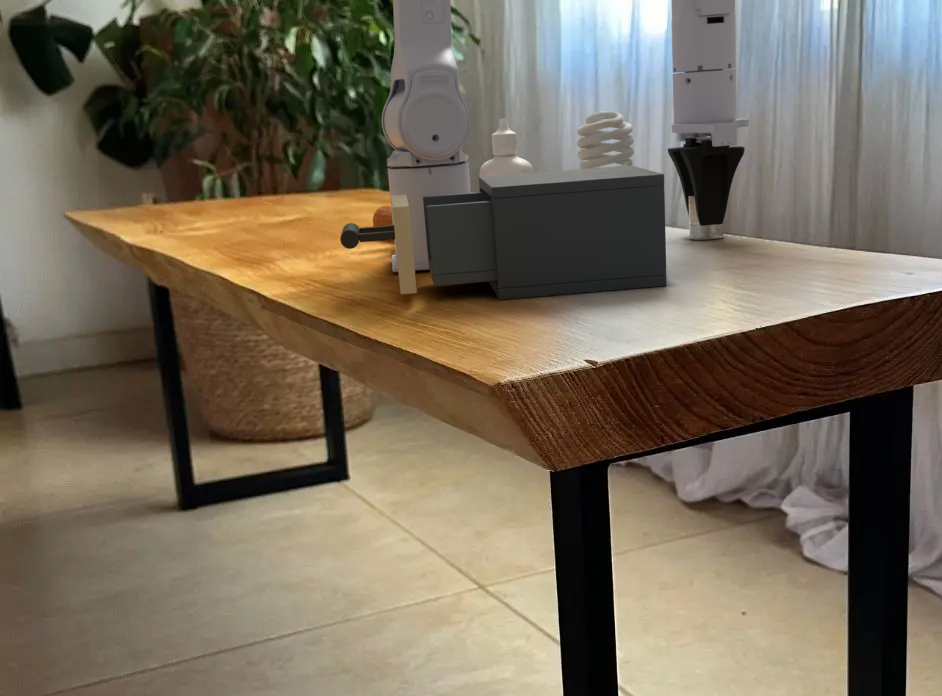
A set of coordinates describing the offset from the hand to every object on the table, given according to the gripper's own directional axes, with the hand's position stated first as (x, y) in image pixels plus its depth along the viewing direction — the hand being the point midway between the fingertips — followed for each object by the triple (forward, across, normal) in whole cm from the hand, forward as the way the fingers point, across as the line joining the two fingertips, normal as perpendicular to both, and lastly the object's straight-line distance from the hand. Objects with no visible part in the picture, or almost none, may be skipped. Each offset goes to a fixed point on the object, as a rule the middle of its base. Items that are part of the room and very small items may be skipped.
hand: (706, 222), depth 117 cm
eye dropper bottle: (+2, +8, +18) cm, 20 cm away
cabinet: (+1, -20, +16) cm, 26 cm away
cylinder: (+1, 0, 0) cm, 1 cm away
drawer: (0, -20, +26) cm, 33 cm away
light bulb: (+2, +8, +8) cm, 11 cm away
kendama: (+2, +15, +28) cm, 32 cm away
